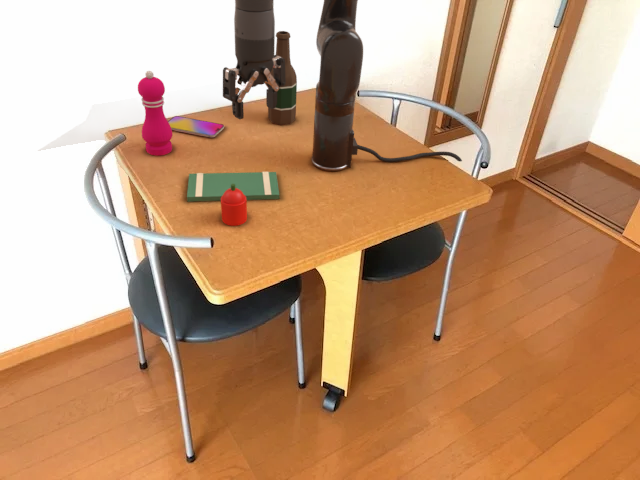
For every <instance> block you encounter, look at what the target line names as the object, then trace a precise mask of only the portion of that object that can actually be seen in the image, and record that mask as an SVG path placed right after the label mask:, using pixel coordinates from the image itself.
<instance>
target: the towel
mask: <svg viewBox="0 0 640 480" xmlns="http://www.w3.org/2000/svg"><path fill="white" fill-rule="evenodd" d="M278 182H279V181H278V176H277V171H255V172H252V171H251V172H250V171H249V172H206V173H205V172H196V173H188V180H187V192H186V201H187V202H188V203H189V202H221V197H222V196H223V194H224V192H225V191H226V190H228V189H229V188H231V184H235V188H237V189H239V190H241V191H242V192H243V194H244V195H245V196H246V200H247V201H254V200H255V201H257V200H259V201H260V200H280V189H279V183H278Z"/></svg>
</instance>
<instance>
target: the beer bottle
mask: <svg viewBox="0 0 640 480" xmlns="http://www.w3.org/2000/svg"><path fill="white" fill-rule="evenodd" d="M275 33H276V34H275V37H276V46H275V55H277V56H280V57H282V58H284V59H285V77H286V84H285V86H284V87H282V86H281V87H280V88H279V90H278V91H277V104H276V108H274V109H271V108H269V107H267V118H268V119H269V121H270V122H271V123H272V124H275V125H278V126H287V125H292V123H293V122H295V121H296V115H297V93H298V90H297V89H298V79H297V78H298V77H297V73H296V70H295V69H294V67H293V65H292V62H291V49H290V48H291V47H290V38H291V33H290V32H289V31H286V30H279V31H277V32H275ZM270 73H271V75H272V76H273V68H272V70H271V72H270ZM279 79H280V76H279Z"/></svg>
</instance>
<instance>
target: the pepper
mask: <svg viewBox="0 0 640 480" xmlns="http://www.w3.org/2000/svg"><path fill="white" fill-rule="evenodd" d="M247 201H248V200H246V196H245V195H244V194H243V192H242V191H241V190H239V189H237V188H235V184H231V188H229V189H228V190H226V191H225V192H224V194H223V196H222V197H221V201H220V208H221V210H220V211H221V212H220V213H221V221H222V222H223V224H224V225H227V226H231V227H236V226H242V225H243V224H245V223H246V222H247V220H248V205H247V203H248V202H247Z"/></svg>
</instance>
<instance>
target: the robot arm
mask: <svg viewBox="0 0 640 480" xmlns="http://www.w3.org/2000/svg"><path fill="white" fill-rule="evenodd" d="M274 1H275V0H234V18H233V23H234V24H233V25H234V27H233V29H234V55H235V58H236V61H237V63H236V65H235V67H233V68H232V67H231V68H229V67H227V66H225V67H223V69H222V97H223V98H224V99H226V100H227V101H230V102H231V109H232V110H231V113H232V116H233V117H235V118H236V119H238V120H243V119H244V114H245V113H244V101H243V100H244V98H245V97H246V94H249V92H250V90H251V89H252V88H255V87H257V86H258V85H261V86H262V85H265V86H266V87H267V89H266V91H265V92H266V96H265V97H266V101H265V103H266V107H267V108H268V107H269V108H271V109H274V108H276V104H277V91H278V90H279V88H280V87H281V86H282V87H284V86H285V84H286V77H285V59H284V58H282V57H280V56H277V55H276V54H275V43H276V41H275V37H276V34H275V33H276V31H275V30H276V29H275V28H276V21H275V20H276V19H275V9H274V5H275V3H274ZM358 1H359V0H323V3H322V9H321V14H320V19H319V24H318V28H317V32H316V39H315V40H316V41H315V43H316V49H317V52H318V55H319V56H320V64H319V77H318V78H319V79H318V82H317V83H316V86H315V99H314V100H315V101H314V119H313V135H312V153H311V163H312V166H314V167H315V168H316V169H319V170H321V171H326V172H339V171H343V170H345V169H350V168H351V167H352V158H353V156H358V150H359V151H363V152H366V153H368V154H371V155H372V156H374V157H375V158H376V159H378V161H381V162H385V163H397V162H405V161H411V160H415V159H420V158H424V157H425V158H426V157H438V156H439V157H441V156H443V157H444V156H445V157H451V158H453V159H455V160H456V161H457V162H463V160H462V158H461V157H460V156H459V155H458V154H456V153H454V152H451V151H431V152H419V153H416V154H412V155H407V156H399V157H384V156H382V155H380V154H379V153H378V152H377V151H376V150H373V149H371V148H369V147H366V146H363V145H360V144H358V142H357V140H356V137H355V131H354V129H353V128H354V119H355V118H354V117H355V107H356V98H357V97H356V96H357V92H358V90H359V87H360V85H361V84H360V83H361V75H362V68H363V67H362V66H363V61H364V43H363V41H362V40H363V39H362V38H361V36H360V35H359V34H358V33H357V32H358V31H356V26H357V25H356V24H357V10H358ZM272 68H273V76H272V75H271V73H270V72H271V70H272ZM279 76H280V79H279ZM242 83H243V84H244V85H242Z"/></svg>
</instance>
